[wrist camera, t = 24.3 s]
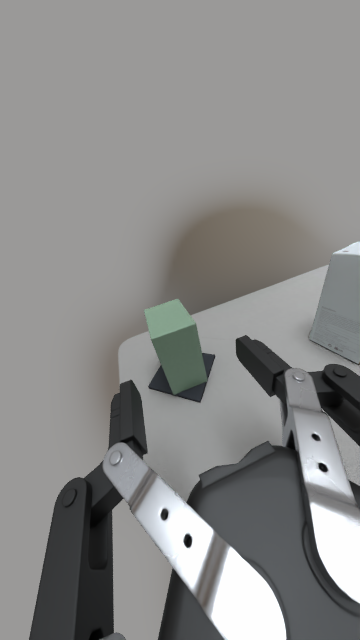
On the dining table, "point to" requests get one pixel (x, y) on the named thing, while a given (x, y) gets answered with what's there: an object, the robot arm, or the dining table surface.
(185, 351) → the green rectangular block
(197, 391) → the rubber mat
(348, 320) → the small box
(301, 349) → the dining table surface
